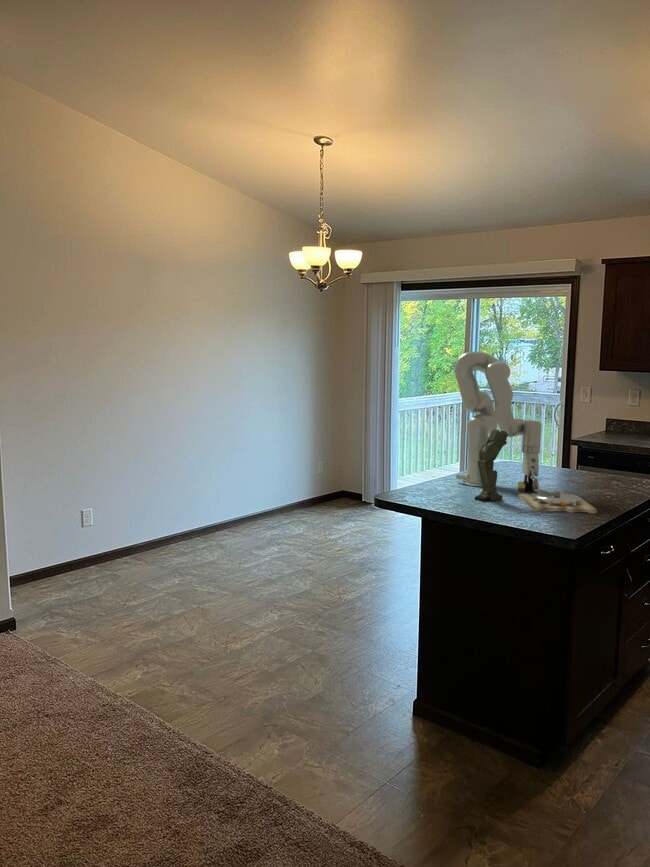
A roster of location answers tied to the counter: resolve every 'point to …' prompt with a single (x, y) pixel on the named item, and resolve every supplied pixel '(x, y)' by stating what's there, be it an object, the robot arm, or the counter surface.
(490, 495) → the mechanical leg
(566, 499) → the sprocket
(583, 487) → the counter surface
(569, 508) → the sprocket plate
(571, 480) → the counter surface
